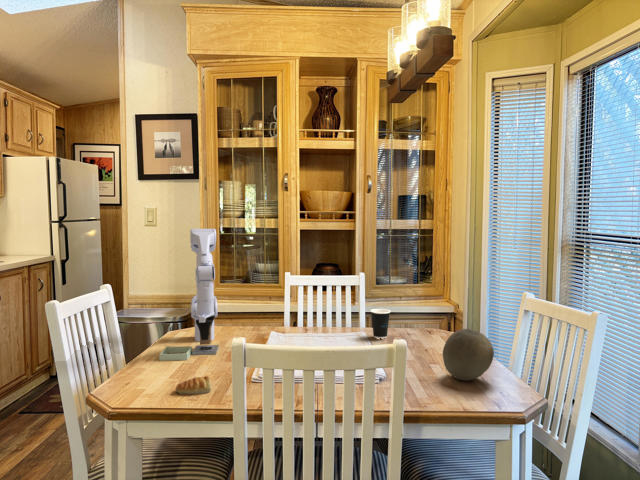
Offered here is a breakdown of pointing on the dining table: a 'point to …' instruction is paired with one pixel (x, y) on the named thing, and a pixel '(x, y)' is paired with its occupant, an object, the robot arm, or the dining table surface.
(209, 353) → the socket block
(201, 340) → the strut
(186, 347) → the bin
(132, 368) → the dining table surface
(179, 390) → the pastry
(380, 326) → the dixie cup
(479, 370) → the cantaloupe
